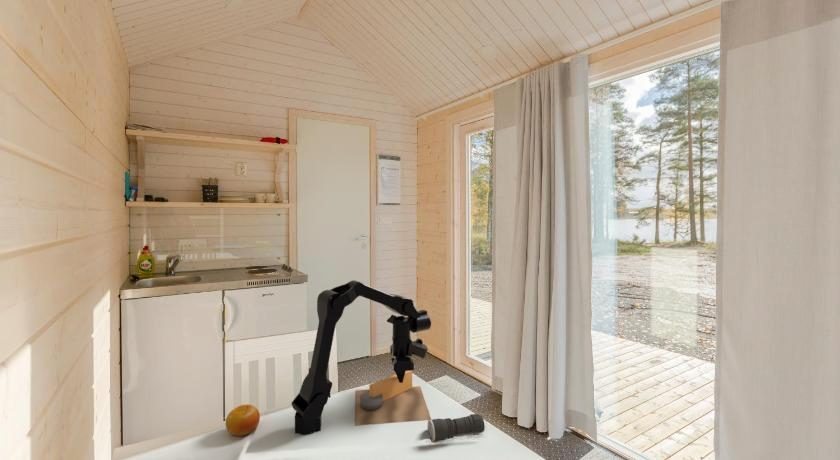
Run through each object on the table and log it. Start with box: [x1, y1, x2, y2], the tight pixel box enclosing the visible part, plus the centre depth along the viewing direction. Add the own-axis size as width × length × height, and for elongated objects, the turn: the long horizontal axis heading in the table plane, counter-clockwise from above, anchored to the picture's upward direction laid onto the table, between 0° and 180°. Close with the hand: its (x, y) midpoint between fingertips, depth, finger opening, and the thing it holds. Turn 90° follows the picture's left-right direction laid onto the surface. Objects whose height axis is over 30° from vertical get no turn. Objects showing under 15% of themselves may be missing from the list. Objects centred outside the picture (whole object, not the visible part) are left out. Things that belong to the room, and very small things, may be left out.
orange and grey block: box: [360, 371, 413, 410], centre depth 130 cm, size 20×7×6 cm, turn 136°
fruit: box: [225, 404, 261, 437], centre depth 113 cm, size 9×9×8 cm
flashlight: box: [427, 413, 486, 443], centre depth 112 cm, size 15×5×5 cm, turn 106°
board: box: [354, 385, 432, 426], centre depth 126 cm, size 22×22×2 cm
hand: (401, 382), depth 131 cm, fingers closed
